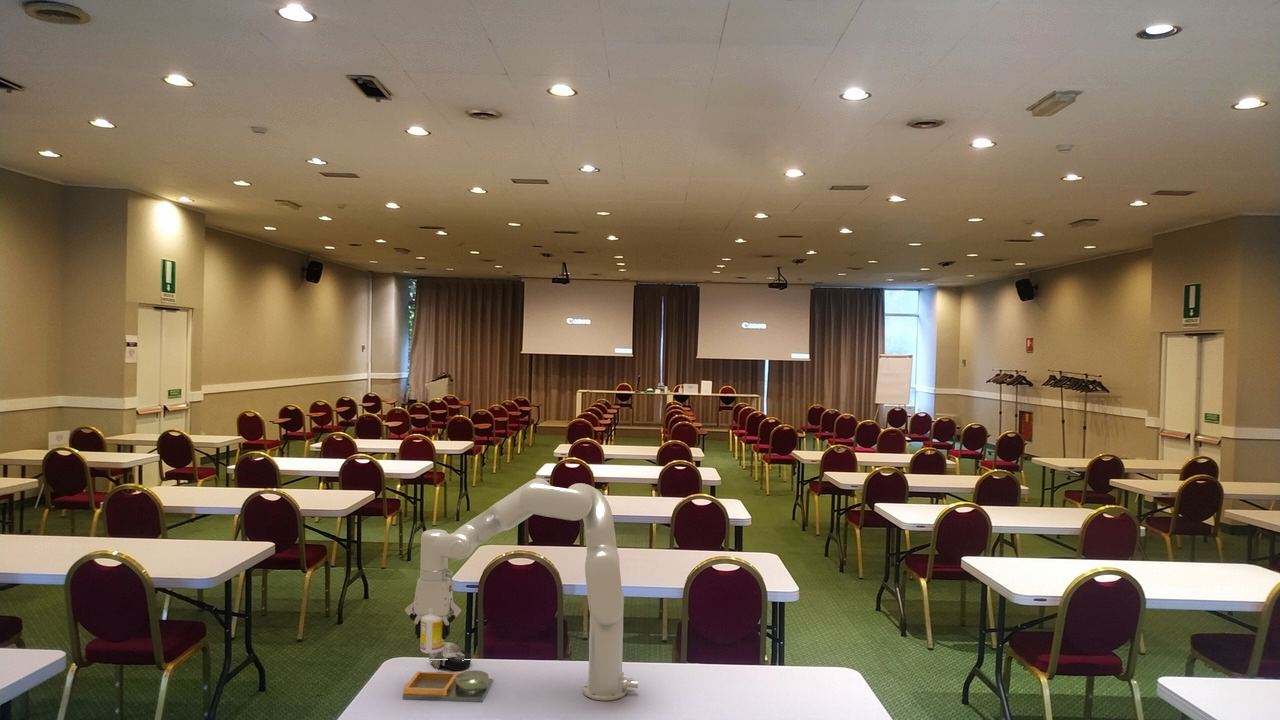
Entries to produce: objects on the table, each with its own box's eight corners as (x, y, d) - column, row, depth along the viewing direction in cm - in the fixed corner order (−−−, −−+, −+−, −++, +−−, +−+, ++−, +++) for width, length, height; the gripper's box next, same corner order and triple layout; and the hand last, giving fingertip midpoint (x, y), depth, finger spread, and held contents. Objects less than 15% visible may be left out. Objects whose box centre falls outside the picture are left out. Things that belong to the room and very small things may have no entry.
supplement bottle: (447, 646, 221) (448, 601, 221) (439, 655, 214) (440, 608, 214) (425, 645, 222) (426, 600, 222) (416, 653, 215) (417, 607, 215)
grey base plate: (492, 682, 224) (493, 668, 224) (482, 702, 211) (482, 686, 211) (418, 680, 225) (418, 665, 225) (402, 699, 212) (403, 684, 212)
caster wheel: (472, 675, 235) (442, 678, 228) (455, 656, 244) (426, 659, 237) (477, 654, 235) (448, 657, 228) (461, 636, 243) (432, 639, 237)
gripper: (467, 571, 222) (466, 633, 221) (408, 569, 222) (406, 631, 222) (460, 579, 214) (459, 643, 214) (399, 576, 215) (397, 641, 215)
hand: (432, 636), depth 218 cm, fingers closed on supplement bottle, 6 cm apart
